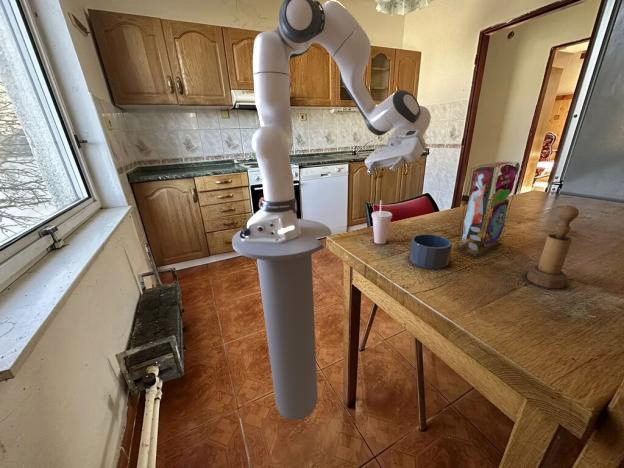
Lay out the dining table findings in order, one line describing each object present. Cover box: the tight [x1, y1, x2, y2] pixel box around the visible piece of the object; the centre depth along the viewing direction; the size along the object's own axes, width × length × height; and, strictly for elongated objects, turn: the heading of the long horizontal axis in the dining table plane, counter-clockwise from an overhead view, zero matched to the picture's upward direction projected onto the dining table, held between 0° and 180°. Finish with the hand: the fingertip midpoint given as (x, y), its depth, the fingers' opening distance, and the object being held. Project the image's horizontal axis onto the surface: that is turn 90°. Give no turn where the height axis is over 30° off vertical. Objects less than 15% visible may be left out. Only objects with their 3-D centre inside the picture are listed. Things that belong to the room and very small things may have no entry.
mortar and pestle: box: [526, 205, 580, 290], centre depth 56 cm, size 7×6×18 cm
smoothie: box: [371, 199, 393, 245], centre depth 82 cm, size 6×6×14 cm
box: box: [456, 161, 521, 258], centre depth 76 cm, size 25×6×24 cm, turn 125°
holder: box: [409, 233, 453, 270], centre depth 70 cm, size 10×10×6 cm
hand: (379, 172), depth 82 cm, fingers open, 8 cm apart
